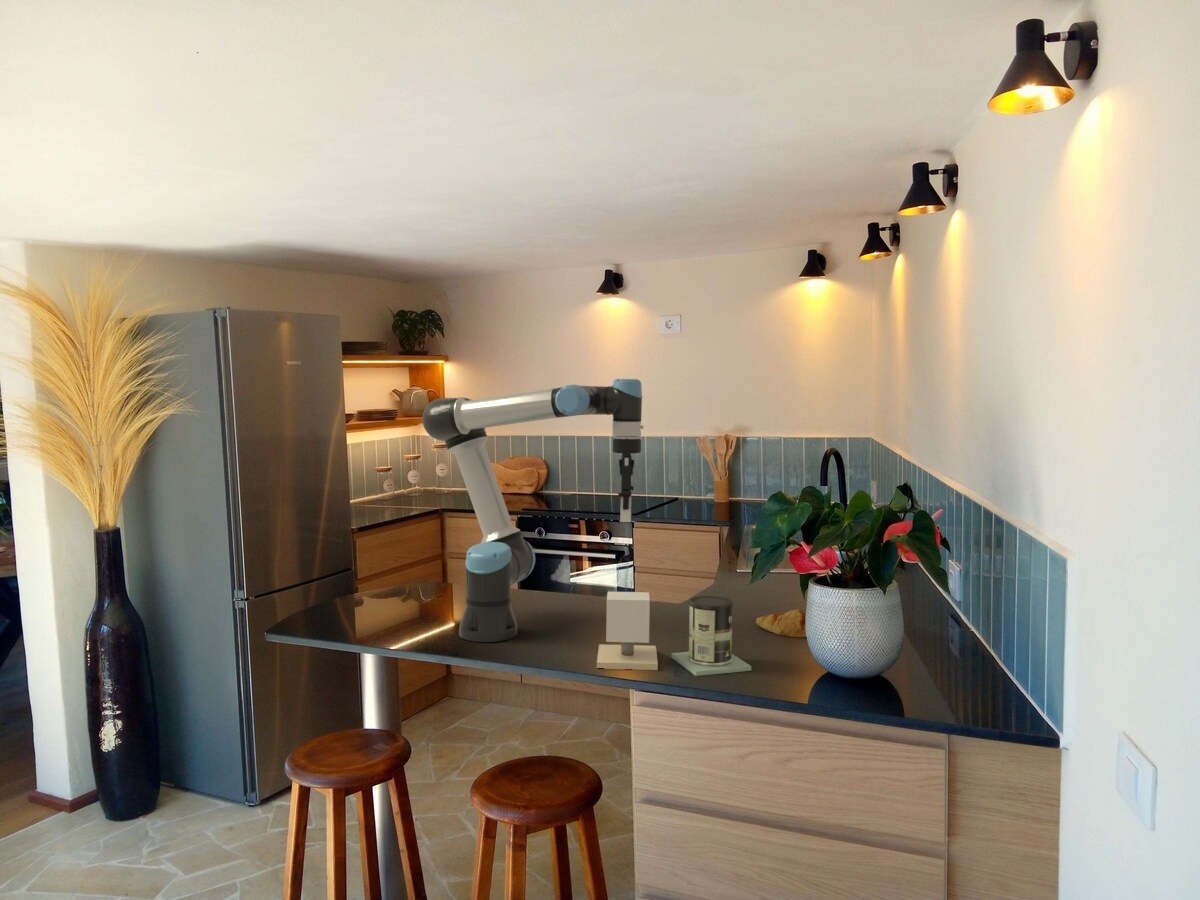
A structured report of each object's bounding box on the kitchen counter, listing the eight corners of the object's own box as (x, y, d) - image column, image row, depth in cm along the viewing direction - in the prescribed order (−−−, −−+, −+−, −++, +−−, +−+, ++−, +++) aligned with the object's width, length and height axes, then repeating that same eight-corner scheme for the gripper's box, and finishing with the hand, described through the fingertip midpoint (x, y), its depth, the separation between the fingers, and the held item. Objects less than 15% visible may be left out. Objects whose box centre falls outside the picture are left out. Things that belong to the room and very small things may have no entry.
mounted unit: (596, 668, 191) (597, 602, 190) (599, 650, 205) (599, 588, 204) (657, 670, 190) (658, 603, 189) (655, 651, 204) (656, 589, 203)
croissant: (751, 641, 226) (746, 619, 223) (764, 617, 233) (759, 595, 230) (828, 654, 215) (823, 630, 211) (839, 628, 222) (834, 605, 218)
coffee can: (728, 653, 201) (729, 595, 200) (734, 666, 190) (736, 606, 190) (685, 652, 201) (687, 595, 200) (690, 666, 190) (691, 605, 190)
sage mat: (695, 676, 187) (695, 671, 187) (671, 657, 200) (671, 653, 200) (751, 670, 191) (751, 666, 191) (724, 652, 204) (724, 648, 204)
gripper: (641, 440, 205) (640, 525, 206) (640, 435, 230) (639, 511, 231) (611, 440, 205) (610, 525, 206) (613, 435, 230) (612, 511, 231)
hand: (625, 518), depth 219 cm, fingers open, 13 cm apart
